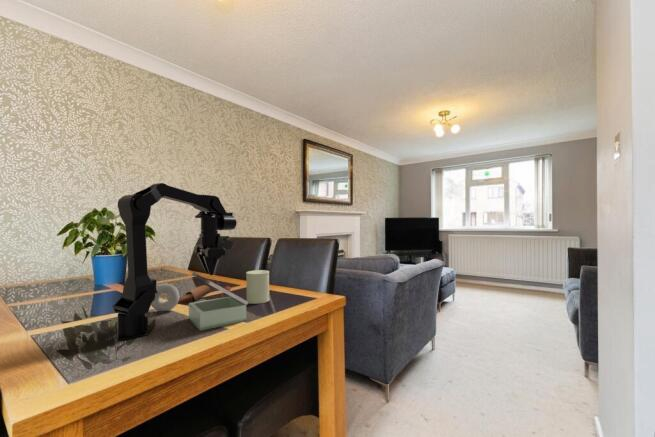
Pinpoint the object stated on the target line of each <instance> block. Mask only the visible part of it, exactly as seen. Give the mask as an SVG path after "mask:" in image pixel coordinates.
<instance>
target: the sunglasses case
mask: <svg viewBox="0 0 655 437" xmlns="http://www.w3.org/2000/svg"><path fill="white" fill-rule="evenodd" d="M210 292H211V288H210V285H209V286H208V284H207V285H206V284H204V285H199V286H197V287H195V288H192V289H190V290H188V291H187V292H186V293H185V294H184V295H182V296H180V297H179V301H178V303H177V305H186V304H188V305H189V303H194V302H199V300H200V299H201V298H203V297H204V296H206V294H208V293H210Z"/></svg>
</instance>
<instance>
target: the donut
mask: <svg viewBox="0 0 655 437" xmlns="http://www.w3.org/2000/svg"><path fill="white" fill-rule="evenodd" d="M156 290H157V292H158V293H155V299H154V301H153V302H152V303H151V306H150V307H152V308H153V309H154V310H156V311H158V312H169V311H171V310H172V309H173V310H174V309H175V307H176V306H177V305H178V304H177V303H178V301H179V298H181V295H180V291H179V289H178V288H177V287H176V286H175V285H173V284H171V283H166V282H165V283H160V284H156ZM162 294H166V295H167V296H168V300H166V301H163V300H162V299H161V295H162Z"/></svg>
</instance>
